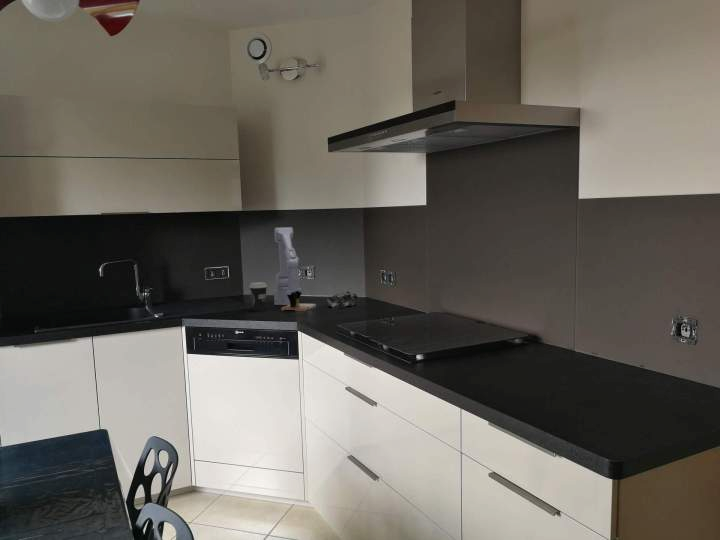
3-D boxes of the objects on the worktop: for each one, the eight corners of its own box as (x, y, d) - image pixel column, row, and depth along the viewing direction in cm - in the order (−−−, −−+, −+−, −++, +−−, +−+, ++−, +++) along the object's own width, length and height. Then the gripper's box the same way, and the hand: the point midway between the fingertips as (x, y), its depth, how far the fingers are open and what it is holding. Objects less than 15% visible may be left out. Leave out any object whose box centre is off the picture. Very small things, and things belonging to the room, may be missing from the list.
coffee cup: (255, 313, 301) (254, 284, 299) (247, 310, 308) (245, 283, 307) (271, 310, 307) (270, 282, 305) (262, 308, 314) (261, 281, 313)
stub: (281, 310, 306) (280, 299, 306) (285, 308, 311) (285, 297, 310) (305, 311, 302) (305, 300, 301) (309, 309, 307) (308, 298, 306)
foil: (329, 298, 322) (350, 284, 318) (339, 315, 321) (360, 301, 317) (322, 301, 310) (344, 286, 306) (333, 318, 309) (355, 303, 306)
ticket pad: (286, 308, 312) (285, 305, 311) (293, 305, 320) (292, 303, 320) (309, 309, 307) (309, 306, 307) (316, 306, 316) (316, 303, 316)
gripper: (294, 282, 296) (295, 308, 298) (306, 279, 310) (307, 304, 311) (282, 282, 298) (283, 308, 300) (294, 279, 312) (295, 303, 313)
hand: (294, 306), depth 306 cm, fingers closed on stub, 3 cm apart
